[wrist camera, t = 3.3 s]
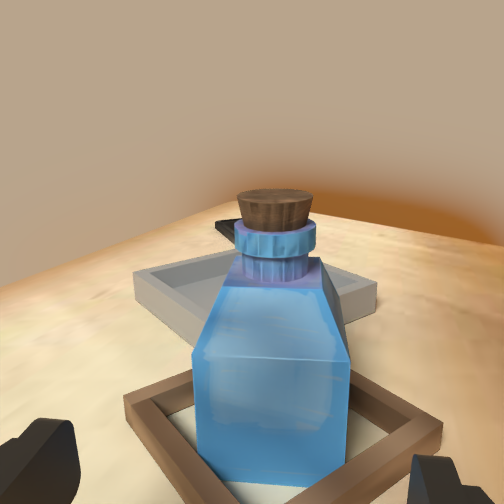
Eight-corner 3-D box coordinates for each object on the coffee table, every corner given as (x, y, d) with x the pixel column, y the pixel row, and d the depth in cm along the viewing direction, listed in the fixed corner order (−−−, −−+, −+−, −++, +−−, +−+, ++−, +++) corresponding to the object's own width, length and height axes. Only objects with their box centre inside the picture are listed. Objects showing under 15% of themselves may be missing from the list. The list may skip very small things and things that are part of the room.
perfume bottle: (199, 478, 20) (182, 210, 16) (223, 393, 26) (215, 182, 22) (343, 490, 19) (359, 212, 15) (334, 400, 25) (344, 183, 21)
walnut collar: (286, 353, 30) (287, 332, 29) (439, 449, 21) (443, 422, 21) (125, 419, 23) (123, 395, 23) (250, 594, 15) (249, 560, 14)
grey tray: (265, 265, 46) (265, 242, 45) (375, 312, 35) (377, 282, 35) (135, 299, 38) (132, 272, 37) (225, 373, 27) (224, 336, 27)
